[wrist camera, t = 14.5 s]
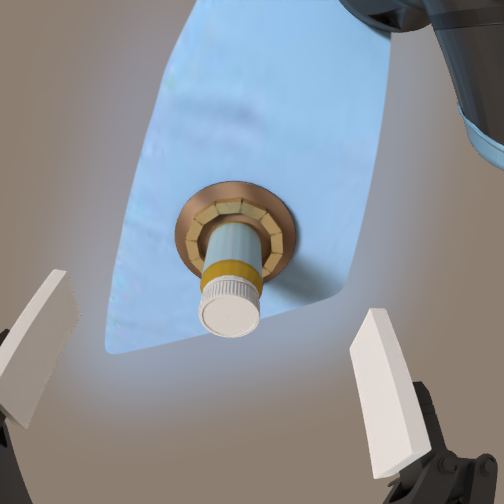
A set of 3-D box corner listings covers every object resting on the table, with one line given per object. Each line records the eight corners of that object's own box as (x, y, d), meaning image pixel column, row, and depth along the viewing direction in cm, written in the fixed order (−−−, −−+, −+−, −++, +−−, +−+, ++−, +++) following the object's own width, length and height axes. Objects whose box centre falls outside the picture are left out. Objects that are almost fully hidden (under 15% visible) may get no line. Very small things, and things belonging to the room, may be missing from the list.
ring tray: (249, 156, 38) (249, 161, 36) (316, 250, 45) (319, 259, 43) (152, 225, 43) (147, 234, 41) (224, 300, 50) (223, 311, 48)
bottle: (263, 257, 45) (268, 336, 32) (216, 264, 45) (205, 343, 33) (256, 214, 41) (258, 286, 28) (204, 222, 42) (185, 295, 29)
